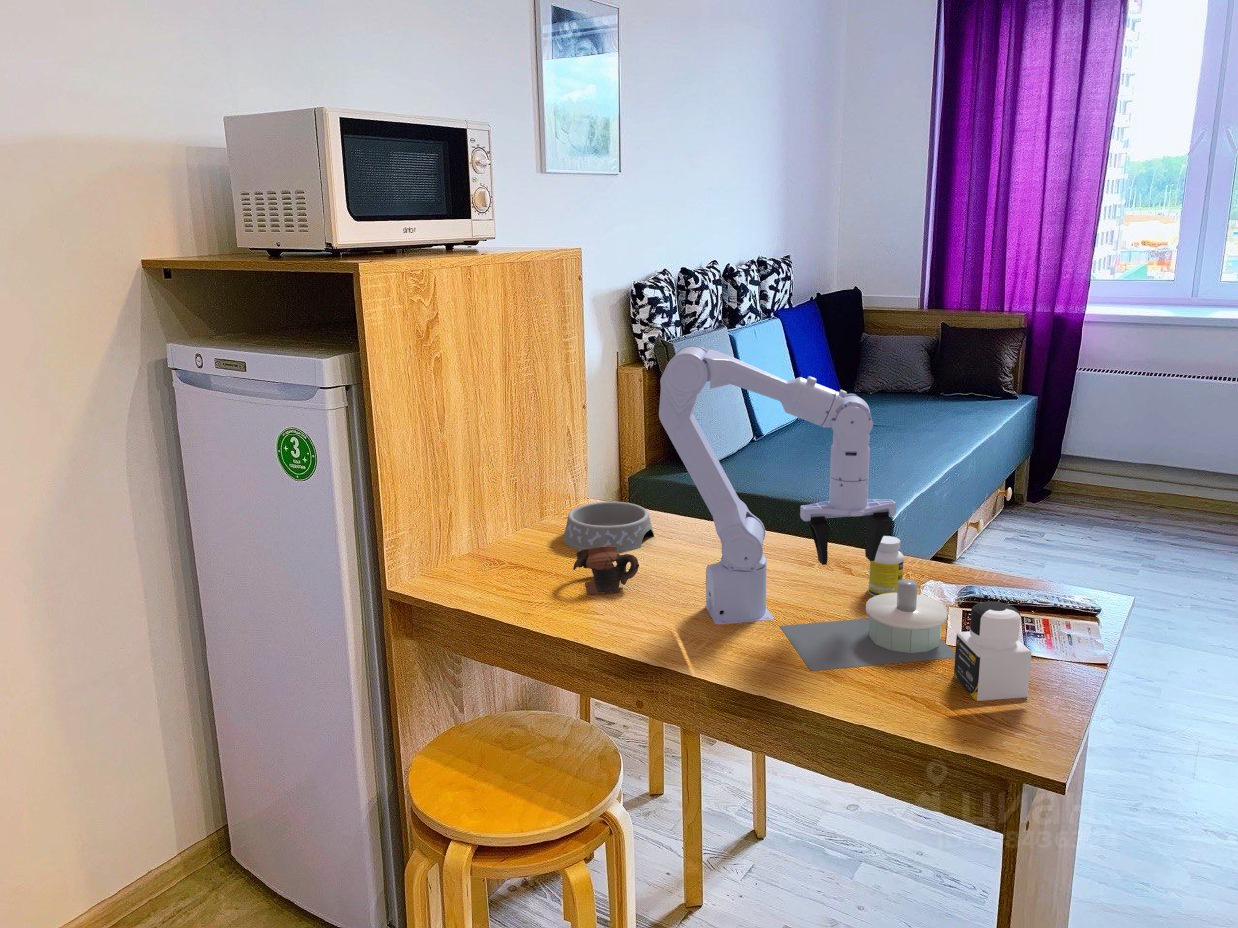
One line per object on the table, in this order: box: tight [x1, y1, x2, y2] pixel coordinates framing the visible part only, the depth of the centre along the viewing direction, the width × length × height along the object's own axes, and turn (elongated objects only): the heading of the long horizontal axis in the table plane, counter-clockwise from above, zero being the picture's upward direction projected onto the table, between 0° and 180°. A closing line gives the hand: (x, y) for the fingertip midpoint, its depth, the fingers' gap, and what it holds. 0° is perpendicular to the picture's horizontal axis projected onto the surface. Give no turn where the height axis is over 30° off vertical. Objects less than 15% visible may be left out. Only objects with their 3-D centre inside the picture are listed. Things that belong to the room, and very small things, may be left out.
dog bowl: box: [563, 501, 655, 554], centre depth 192 cm, size 17×18×5 cm
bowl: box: [869, 617, 942, 653], centre depth 143 cm, size 10×10×4 cm
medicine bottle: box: [953, 600, 1032, 702], centre depth 127 cm, size 7×7×12 cm
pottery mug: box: [572, 546, 640, 596], centre depth 168 cm, size 12×10×8 cm
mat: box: [779, 617, 955, 672], centre depth 143 cm, size 22×15×1 cm
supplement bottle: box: [867, 535, 905, 597], centre depth 159 cm, size 5×5×10 cm
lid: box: [865, 578, 949, 630], centre depth 142 cm, size 12×12×5 cm
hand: (846, 560), depth 149 cm, fingers open, 7 cm apart
